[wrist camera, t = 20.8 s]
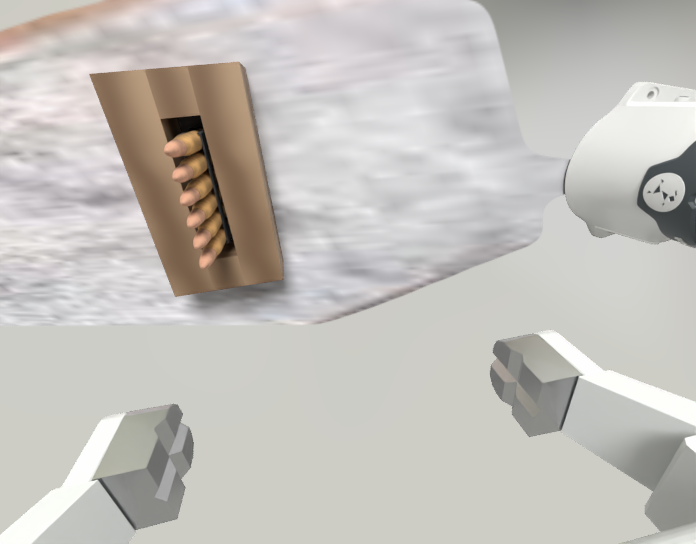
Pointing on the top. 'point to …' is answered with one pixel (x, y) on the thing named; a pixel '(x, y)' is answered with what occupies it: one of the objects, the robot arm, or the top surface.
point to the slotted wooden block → (164, 193)
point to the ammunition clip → (200, 193)
